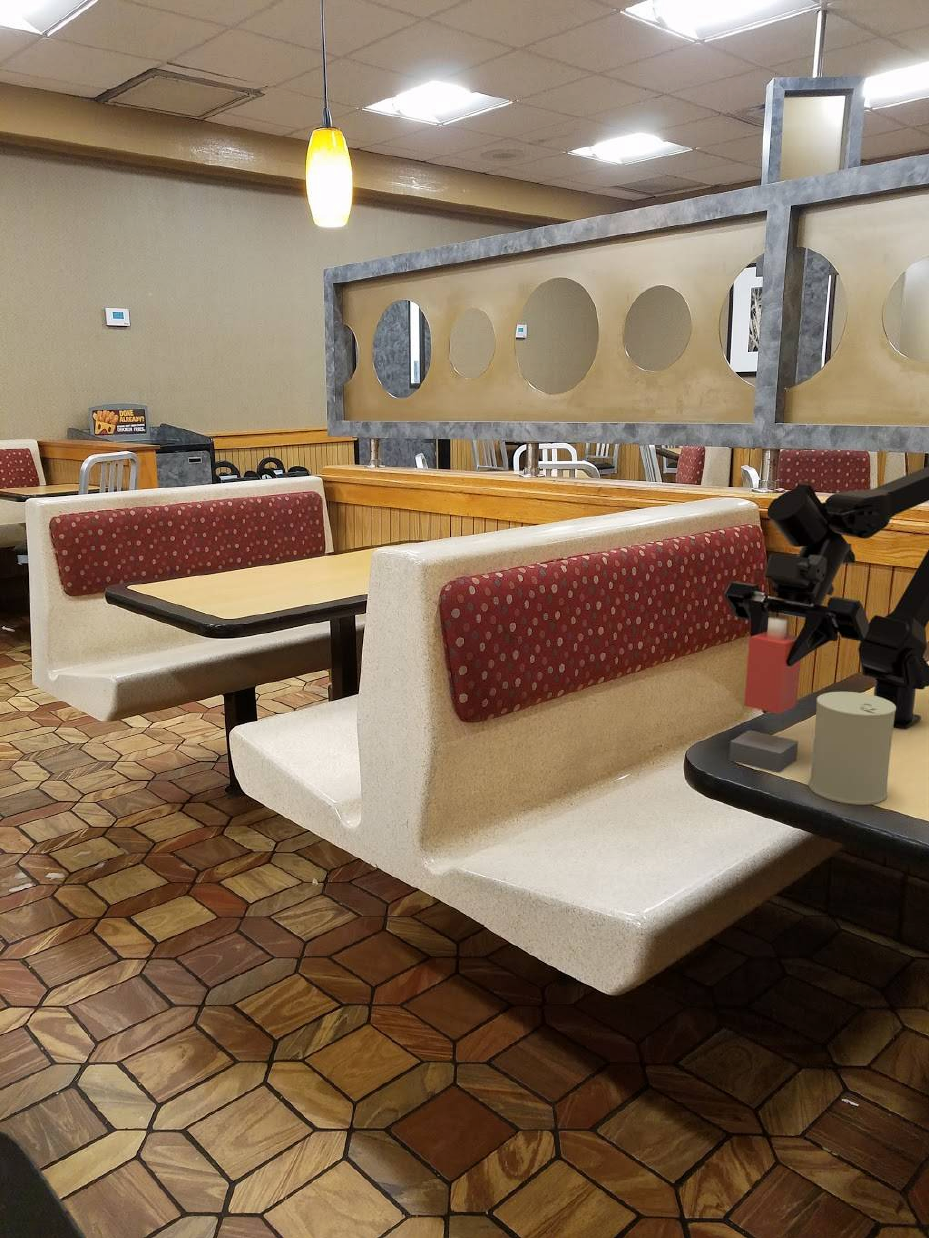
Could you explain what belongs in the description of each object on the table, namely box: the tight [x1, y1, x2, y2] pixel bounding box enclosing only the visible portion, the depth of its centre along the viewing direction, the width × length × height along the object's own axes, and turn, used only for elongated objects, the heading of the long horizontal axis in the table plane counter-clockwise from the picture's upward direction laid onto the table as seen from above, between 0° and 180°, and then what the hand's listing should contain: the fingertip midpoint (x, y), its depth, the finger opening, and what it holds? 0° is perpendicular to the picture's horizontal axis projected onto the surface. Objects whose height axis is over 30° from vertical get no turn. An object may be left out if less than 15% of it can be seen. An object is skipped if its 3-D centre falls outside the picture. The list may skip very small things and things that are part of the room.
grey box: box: [728, 729, 799, 774], centre depth 131 cm, size 6×7×3 cm
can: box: [808, 691, 896, 806], centre depth 120 cm, size 9×9×12 cm
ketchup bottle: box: [743, 616, 802, 715], centre depth 129 cm, size 5×5×12 cm
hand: (769, 660), depth 128 cm, fingers closed on ketchup bottle, 5 cm apart
